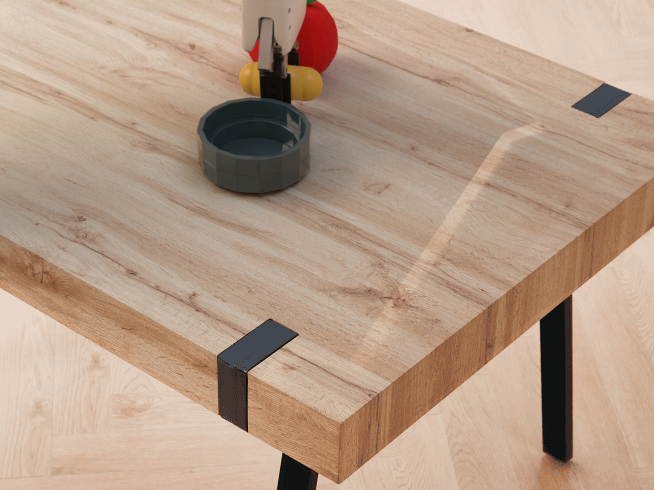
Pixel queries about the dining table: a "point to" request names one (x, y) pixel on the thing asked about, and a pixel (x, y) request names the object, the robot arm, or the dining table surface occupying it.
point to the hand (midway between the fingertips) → (280, 94)
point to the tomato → (313, 38)
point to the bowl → (254, 144)
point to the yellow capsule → (302, 81)
